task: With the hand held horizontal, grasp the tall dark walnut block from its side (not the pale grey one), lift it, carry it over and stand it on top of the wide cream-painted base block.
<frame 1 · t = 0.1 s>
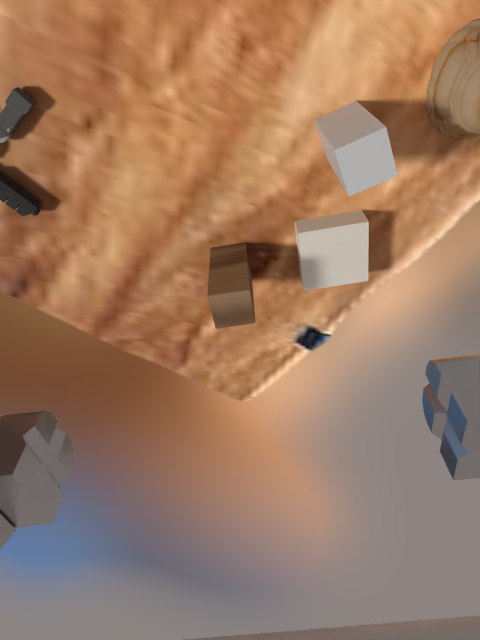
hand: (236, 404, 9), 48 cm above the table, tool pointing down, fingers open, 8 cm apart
walnut block: (231, 260, 62), on the table
statue: (473, 78, 49), on the table
cream base: (328, 244, 61), on the table
grey block: (341, 131, 52), on the table
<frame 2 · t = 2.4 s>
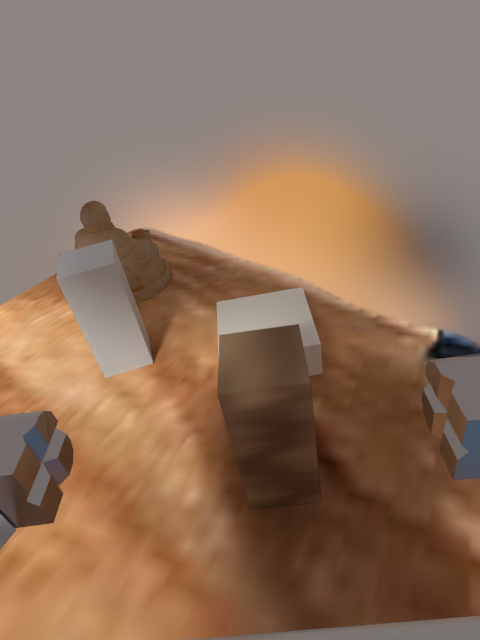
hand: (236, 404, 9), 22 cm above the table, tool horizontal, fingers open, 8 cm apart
walnut block: (282, 473, 32), on the table
statue: (127, 285, 58), on the table
cream base: (268, 351, 44), on the table
grey block: (127, 355, 46), on the table
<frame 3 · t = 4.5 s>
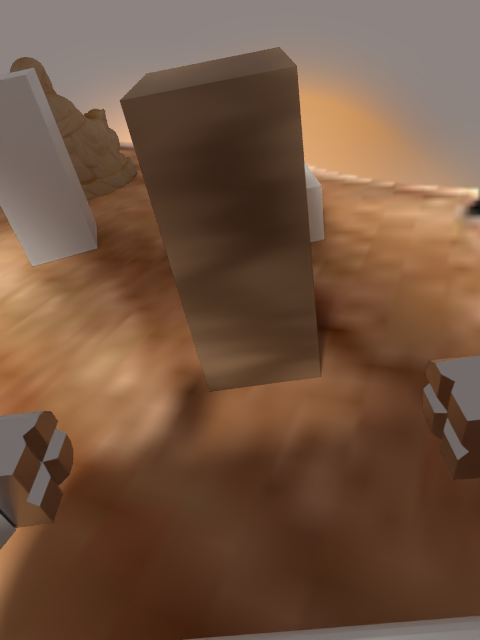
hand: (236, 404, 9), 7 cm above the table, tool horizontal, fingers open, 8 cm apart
walnut block: (261, 347, 21), on the table
statue: (82, 187, 47), on the table
cream base: (250, 228, 32), on the table
grey block: (66, 244, 35), on the table
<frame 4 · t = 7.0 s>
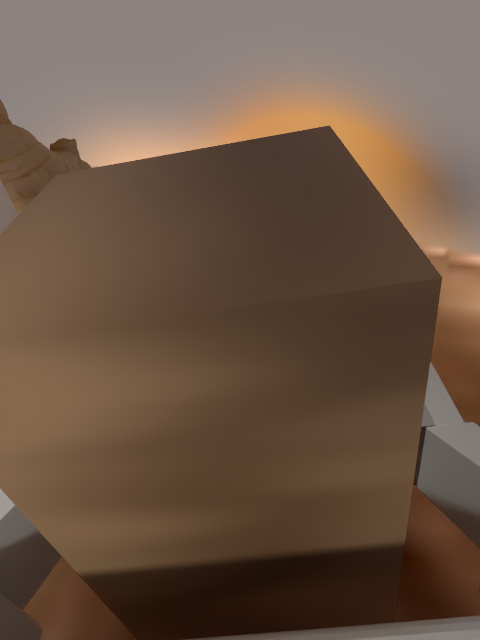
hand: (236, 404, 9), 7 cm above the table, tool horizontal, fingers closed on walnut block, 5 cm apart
walnut block: (277, 582, 13), on the table, touching gripper
statue: (51, 230, 39), on the table
grey block: (15, 324, 27), on the table
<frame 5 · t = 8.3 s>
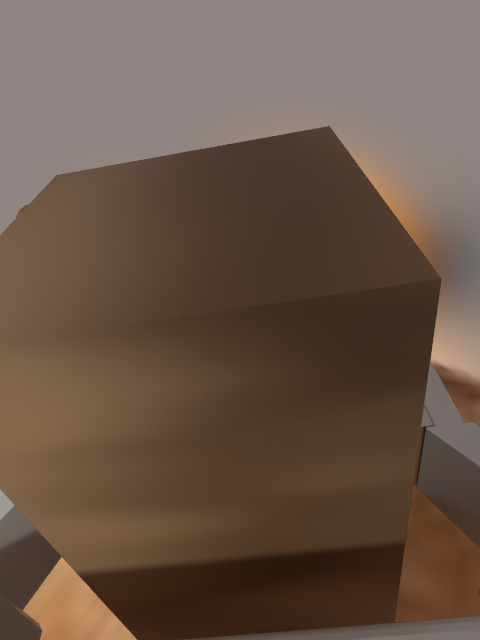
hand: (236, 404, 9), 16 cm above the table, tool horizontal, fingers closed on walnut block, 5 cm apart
walnut block: (277, 582, 13), point 9 cm above the table, touching gripper
when the fingers open (12 cm above the table, at t = 11.3 s): walnut block drops 1 cm, resting on cream base.
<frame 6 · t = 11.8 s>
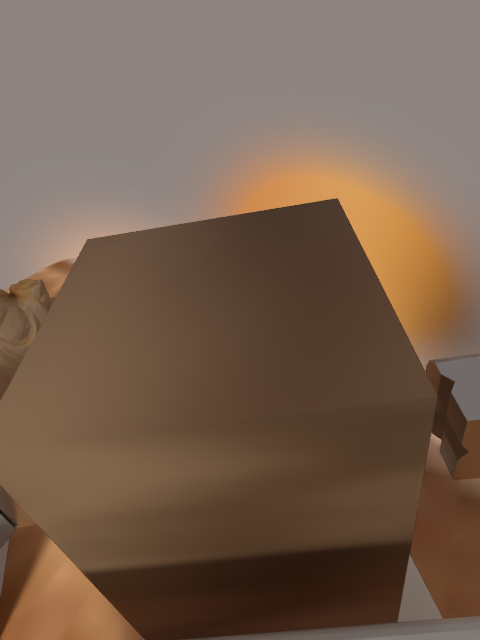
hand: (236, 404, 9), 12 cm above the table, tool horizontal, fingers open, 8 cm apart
walnut block: (283, 595, 14), point 4 cm above the table, touching cream base
statue: (16, 378, 31), on the table
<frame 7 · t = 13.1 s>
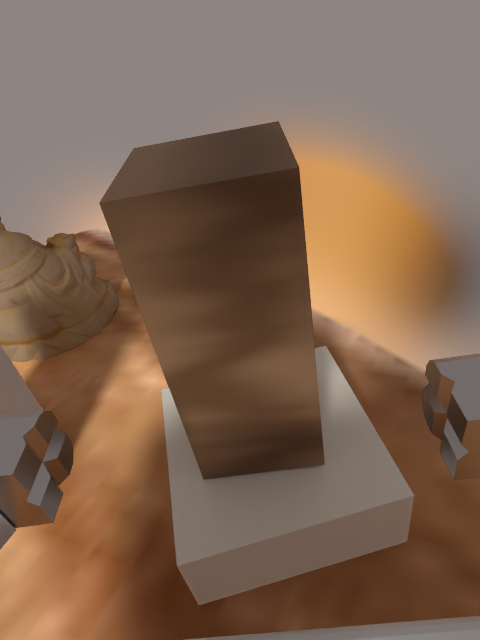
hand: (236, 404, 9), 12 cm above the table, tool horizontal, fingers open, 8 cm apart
walnut block: (259, 423, 20), point 4 cm above the table, touching cream base
statue: (48, 321, 37), on the table
cream base: (276, 483, 22), on the table, touching walnut block
grey block: (6, 473, 24), on the table
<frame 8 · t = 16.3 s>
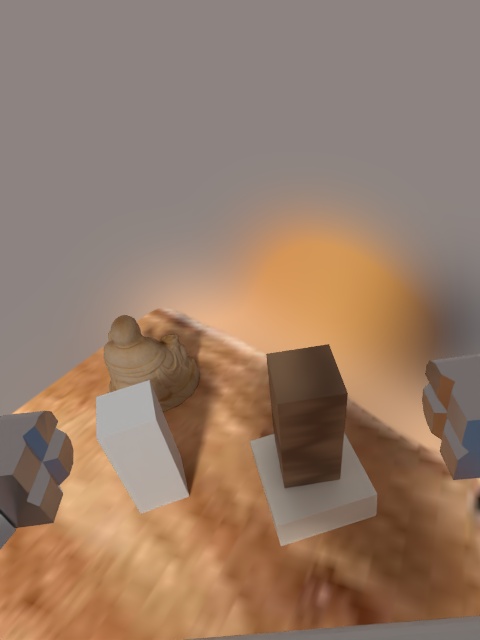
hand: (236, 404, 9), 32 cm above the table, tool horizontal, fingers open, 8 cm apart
walnut block: (305, 458, 40), point 4 cm above the table, touching cream base
statue: (154, 384, 57), on the table
cream base: (311, 488, 42), on the table, touching walnut block
grey block: (161, 483, 45), on the table
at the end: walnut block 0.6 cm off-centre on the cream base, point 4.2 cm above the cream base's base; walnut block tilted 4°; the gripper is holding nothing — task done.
